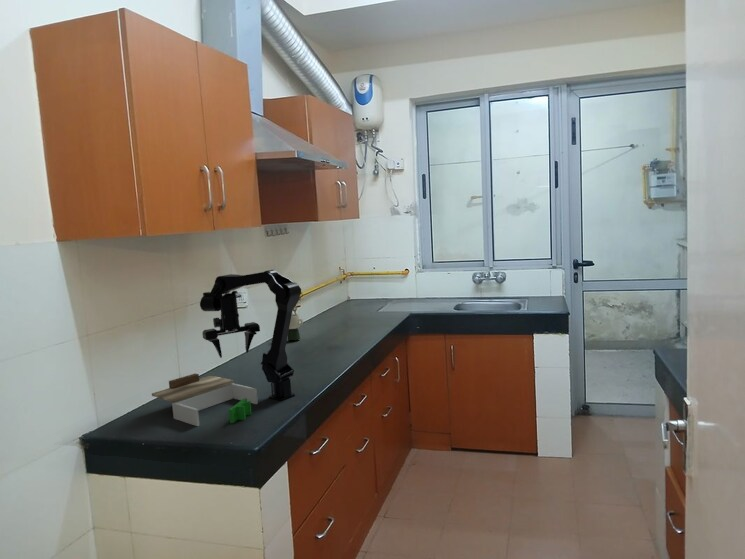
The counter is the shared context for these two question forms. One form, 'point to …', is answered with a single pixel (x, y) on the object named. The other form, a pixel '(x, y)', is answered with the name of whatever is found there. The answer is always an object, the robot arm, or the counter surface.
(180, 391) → the lid
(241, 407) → the pipe clamp
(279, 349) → the robot arm
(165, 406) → the counter surface
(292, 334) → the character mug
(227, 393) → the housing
